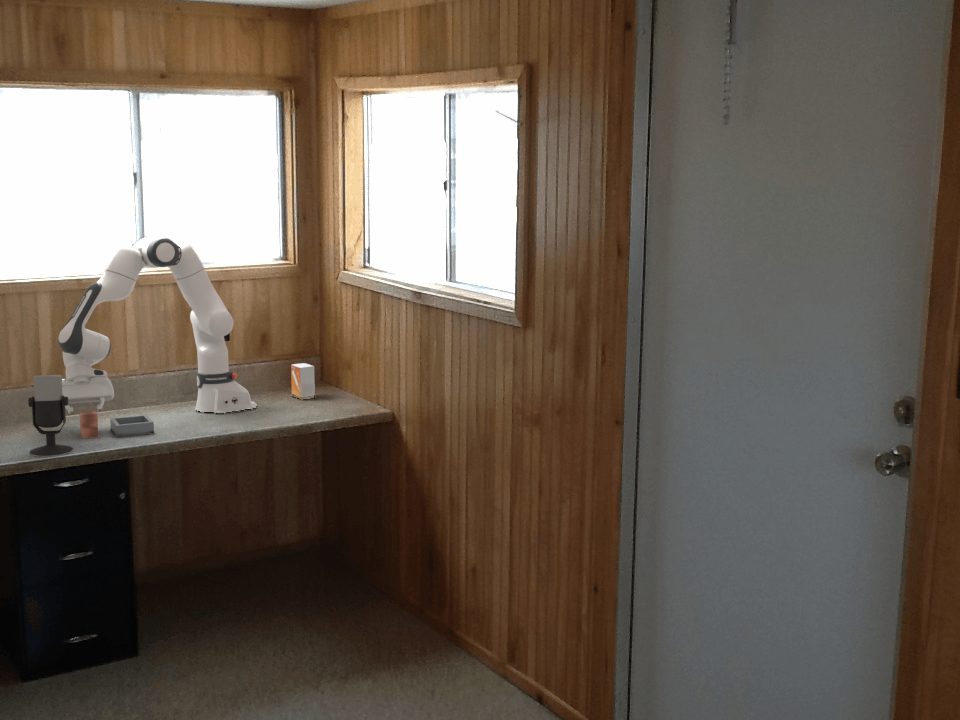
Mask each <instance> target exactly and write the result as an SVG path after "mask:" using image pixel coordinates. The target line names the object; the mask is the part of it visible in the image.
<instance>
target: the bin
mask: <svg viewBox="0 0 960 720" xmlns="http://www.w3.org/2000/svg"><path fill="white" fill-rule="evenodd" d="M109 421H110V422H109V423H110V431H111V432H112V433H113V435H114V436H115V437H116V438H123V437H124V438H125V437H134V436H133V435H136V436H142V435H141V434H145V435H150V434H149V433H154V434H155V423H154V421H153V420H152V418H150V417H149V416H148V415H147V414H143V415H142V414H141V415H131V416H129V415H128V416H122V417H121V416H120V417H111V418H110V419H109Z"/></svg>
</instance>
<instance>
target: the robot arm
mask: <svg viewBox="0 0 960 720" xmlns="http://www.w3.org/2000/svg"><path fill="white" fill-rule="evenodd" d="M145 267H149V268H168V269H169V271H171V273H172V275H173V277H174V280H175V281H176V284H177V287H178V289H179V290H180V293H181V294H182V297H183V299H184V300H185V301H186V303H187V304H188V305H189V307H190V308H191V311H190V314H189V319H190V323H191V325H192V331H193V332H192V333H193V336H194V341H195V346H196V353H197V354H196V355H197V357H196V358H197V372H196V386H197V398H196V399H197V400H196V404H195V408H194V411H196V410H197V411H196V412H198V411H200V412H199V413H204V412H214V413H213V414H216V413H224V412H230V411H236V410H242V409H247V408H254V407H256V406H257V407H258V405H257V403H256V402H255V401H253V400H252V399H251V395H250V393H249V391H248V389H247V388H245V387H244V386H242V385H241V384H240V383H238V382H237V381H235V380H236V379H237V378H238V377H239V375H238V374H237V372H233V371H231V370H229V369H230V368H229V350H228V347H227V344H226V340H225V336H227V335H229V334H230V333H231V332H232V330H233V328H234V324H235V323H234V318H233V315H231V313H230V311H228V308H227V307H226V306H225V304H224V302H223V300H222V299H221V297H220V296H219V294H218V292H217V291H216V289H215V287H214V286H213V284H212V282H211V280H210V278H209V276H208V273H207V272H206V270H205V269H206V268H205V267H204V265H203V263H202V261H201V259H200V257H199V256H198V254H197V253H196V251H195V249H194V248H193V247H192V246H191V245H190V244H189V243H186V242H180V243H175V242H174V241H173V240H172V239H171V238H168V237H165V236H159V235H150V236H143V237H140V238H139V239H138V240H136V241H135V242H134V243H132V245H129V244H122V245H119V246H118V247H116V248H115V250H114V252H113V254H112V255H111V257H110V259H109V261H108V262H107V265H106V268H105V269H104V272H103V273H102V275H101V276H100V278H99V279H98V280H97V281H94V282H92V283H91V284H90V285H89V286H88V287H87V289H86V290H85V291H84V293H83V295H82V297H81V298H80V300H79V301H78V303H77V305H76V307H75V309H74V310H73V312H72V314H71V316H70V317H69V319H68V320H67V321H66V323H65V324H64V326H63V327H62V328H61V329H60V331H59V333H58V336H57V343H58V346H59V348H60V350H61V351H62V360H63V361H62V362H63V364H64V367H65V370H64V371H65V378H64V379H63V378H62V394H63V395H64V397H68V405H67V406H65V410H67V413H68V414H69V415H71V414H72V415H74V407H73V406H70V405H72V404H83V403H95V402H99V404H97V407H96V409H97V412H103V407H104V404H105V402H107V401H108V402H109V401H113V399H114V397H115V391H114V385H113V382H112V381H111V379H110V378H109V377H108V373H107V371H106V370H104V369H98V368H94V367H92V366H94V365H97V364H99V363H101V362H103V361H105V360H106V359H107V358H108V357H109V356H110V354H111V350H112V343H111V340H110V337H108V336H107V335H104V334H102V333H100V332H97V331H93V330H91V329H88V328H86V325H87V323H88V321H89V318H90V317H91V315H92V314H93V312H94V310H95V309H96V307H97V306H98V305H99V304H101V303H104V302H105V303H106V302H119V301H123V300H124V299H127V298H128V297H129V296H131V294H132V293H133V291H134V289H135V286H136V283H137V281H138V278H139V275H140V273H141V271H142V270H143V269H144V268H145ZM224 414H225V413H224Z"/></svg>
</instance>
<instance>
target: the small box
mask: <svg viewBox="0 0 960 720" xmlns="http://www.w3.org/2000/svg"><path fill="white" fill-rule="evenodd" d="M290 370H291V373H290V374H291V378H290V380H291V381H290V382H291V383H290V384H291V395H292V394H294V395H296V396H298V397H308V396H314V395H315V396H316V388H315V387H316V384H315V382H316V381H315V378H316V377H315V365H311V364H309V363H306V362H302V363H294V364H293V363H292V364H291V365H290Z"/></svg>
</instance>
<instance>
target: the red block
mask: <svg viewBox="0 0 960 720" xmlns="http://www.w3.org/2000/svg"><path fill="white" fill-rule="evenodd" d="M79 427H80V428H79V430H80V431H79V432H80V437H81V438H82V439H83V438H84V439H90V437H93V438H99V423H98V413H97V411H96V410H90V411H79Z"/></svg>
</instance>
